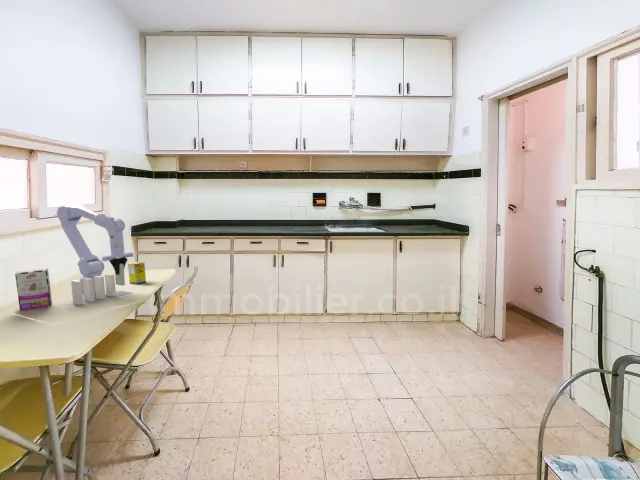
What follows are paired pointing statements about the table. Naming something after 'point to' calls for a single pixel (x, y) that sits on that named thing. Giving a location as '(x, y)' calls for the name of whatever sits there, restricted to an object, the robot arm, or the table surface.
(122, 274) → the sage domino
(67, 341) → the table surface
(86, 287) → the ivory domino
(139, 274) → the supplement box
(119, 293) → the slate board
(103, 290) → the ivory domino
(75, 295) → the ivory domino
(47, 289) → the candy bar box
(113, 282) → the ivory domino
